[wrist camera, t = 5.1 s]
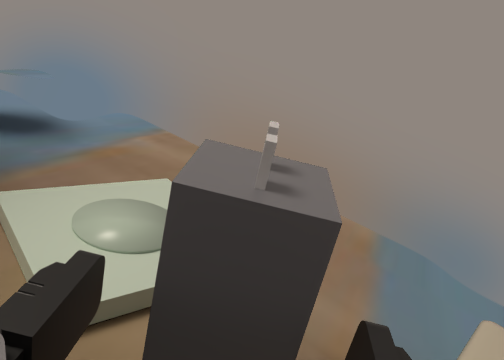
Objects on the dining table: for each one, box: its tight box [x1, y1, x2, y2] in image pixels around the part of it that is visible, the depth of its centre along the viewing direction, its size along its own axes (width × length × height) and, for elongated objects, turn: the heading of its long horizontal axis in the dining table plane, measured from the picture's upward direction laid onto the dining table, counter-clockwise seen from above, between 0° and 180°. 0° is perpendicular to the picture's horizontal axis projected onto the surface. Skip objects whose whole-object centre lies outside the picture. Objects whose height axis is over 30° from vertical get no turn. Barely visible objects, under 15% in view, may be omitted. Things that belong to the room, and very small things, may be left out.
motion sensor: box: [0, 179, 172, 325], centre depth 25 cm, size 12×12×1 cm
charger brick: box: [142, 121, 342, 360], centre depth 14 cm, size 4×4×11 cm
